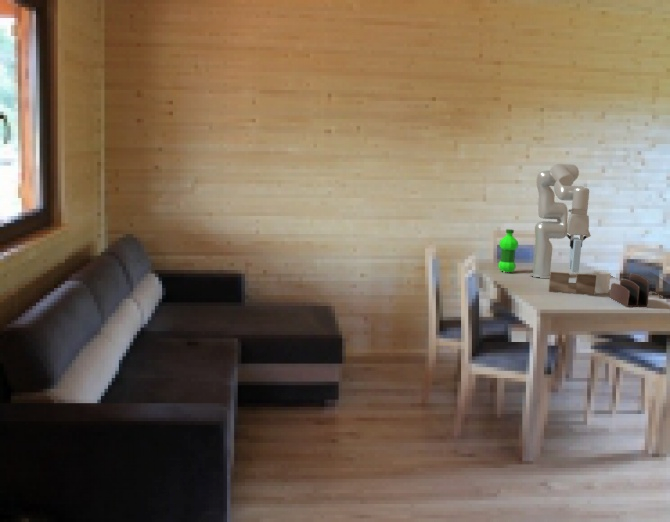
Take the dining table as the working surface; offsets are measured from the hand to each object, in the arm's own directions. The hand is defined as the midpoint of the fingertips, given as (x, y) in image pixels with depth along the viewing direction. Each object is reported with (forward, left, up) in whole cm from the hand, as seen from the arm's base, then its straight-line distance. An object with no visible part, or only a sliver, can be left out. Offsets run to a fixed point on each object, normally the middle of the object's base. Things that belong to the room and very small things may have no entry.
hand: (575, 248), depth 354 cm
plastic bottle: (-48, -30, -23) cm, 61 cm away
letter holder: (+14, +25, -24) cm, 37 cm away
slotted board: (0, 0, -23) cm, 23 cm away
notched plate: (0, 0, -11) cm, 11 cm away
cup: (-11, +15, -23) cm, 30 cm away
